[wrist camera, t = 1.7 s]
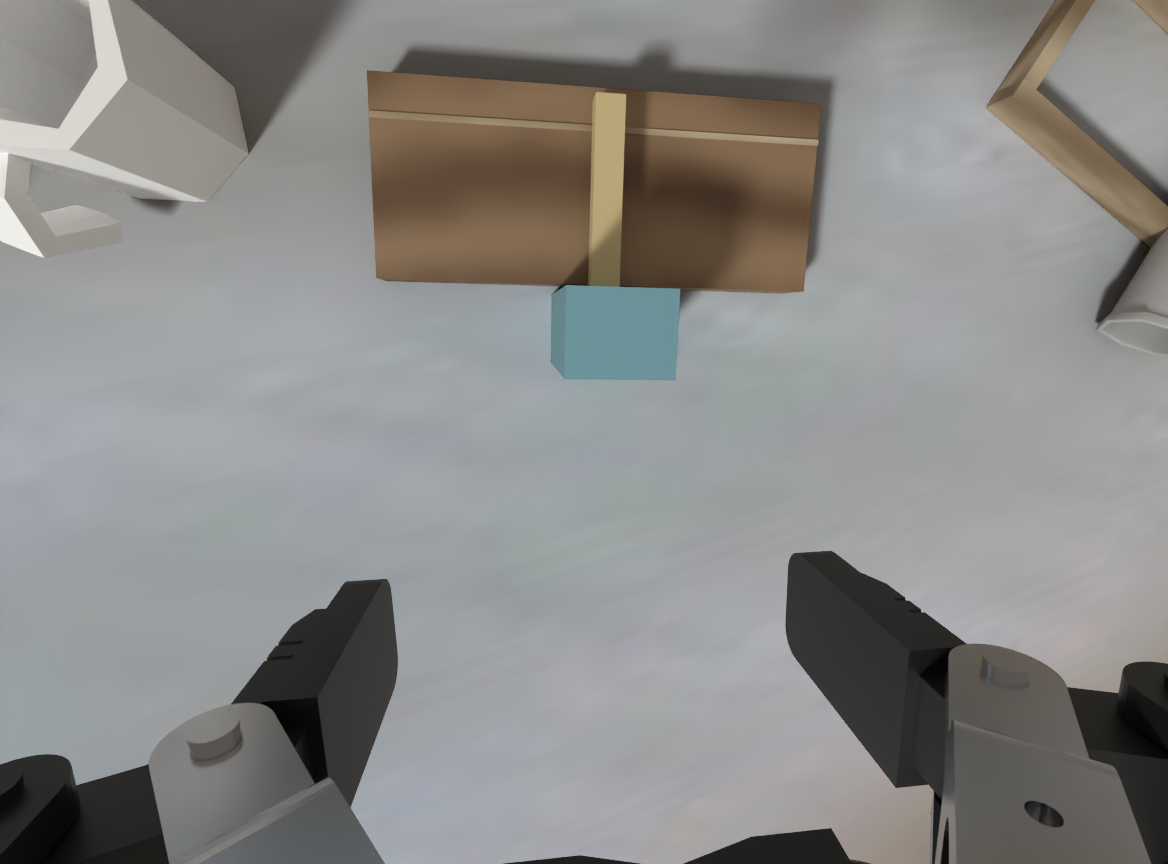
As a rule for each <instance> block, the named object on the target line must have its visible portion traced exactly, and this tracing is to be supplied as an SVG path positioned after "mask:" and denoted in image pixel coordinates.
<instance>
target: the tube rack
mask: <svg viewBox="0 0 1168 864" xmlns="http://www.w3.org/2000/svg"><path fill="white" fill-rule="evenodd" d="M1094 1H1095V0H1056V1H1055V2H1054V4H1053V5H1052V7H1051V8H1050V10H1049V11H1048V13H1047V14H1046V16H1045V17H1044V19H1043V20H1042V22H1041V24H1040V25H1039V27H1038V28H1037V30H1036V31H1035V33H1034V34H1033V36H1032V37H1031V39H1030V40H1029V42H1028V44H1027V45H1026V47H1025V48H1024V50H1023V51H1022V53H1021V54H1020V56H1019V57H1018V59H1017V60H1016V62H1015V63H1014V65H1013V67H1012V68H1011V70H1010V71H1009V73H1008V74H1007V76H1006V77H1005V79H1004V80H1003V82H1002V83H1001V85H1000V86H999V88H998V90H997V91H996V93H995V94H994V96H993V97H992V99H991V100H990V102H989V103H988V105H987V106H986V108H987V109H989V110H990V111H991V112H992V113H993V114H994V115H996V116H997V117H998V118H999V119H1000V120H1001V121H1003V122H1004V123H1005V124H1006V125H1007V126H1008V127H1010V128H1011V129H1012V130H1013V131H1014V132H1015V133H1017V134H1018V135H1019V136H1020V137H1021V138H1022V139H1024V140H1025V141H1026V142H1027V143H1028V144H1029V145H1031V146H1032V147H1033V148H1034V149H1035V150H1036V151H1038V152H1039V153H1040V154H1041V155H1042V156H1043V157H1045V158H1046V159H1047V160H1048V161H1049V162H1050V163H1052V164H1053V165H1054V166H1055V167H1056V168H1057V169H1059V170H1060V171H1061V172H1062V173H1063V174H1064V175H1066V176H1067V177H1068V178H1069V179H1070V180H1071V181H1073V182H1074V183H1075V184H1076V185H1077V186H1078V187H1080V188H1081V189H1082V190H1083V191H1084V192H1085V193H1087V194H1088V195H1089V196H1090V197H1091V198H1092V199H1094V200H1095V201H1096V202H1097V203H1098V204H1099V205H1101V206H1102V207H1103V208H1104V209H1105V210H1106V211H1108V212H1109V213H1110V214H1111V215H1112V216H1113V217H1115V218H1116V219H1117V220H1118V221H1119V222H1121V223H1122V224H1123V225H1124V226H1125V227H1126V228H1128V229H1129V230H1130V231H1131V232H1132V233H1133V234H1135V235H1136V236H1137V237H1138V238H1139V239H1140V240H1142V241H1143V242H1144V243H1145V244H1146V245H1147V246H1149V247H1150V248H1151V247H1152V246H1153V244H1154V243H1155V241H1156V240H1157V239H1158V238H1159V237H1160V236H1161V235H1162V234H1163V233H1164V232H1165V231H1166V230H1167V229H1168V206H1167V205H1166V204H1165V203H1164V202H1162V201H1161V200H1160V199H1159V198H1158V197H1157V196H1156V195H1155V194H1153V193H1152V192H1151V191H1150V190H1149V189H1148V188H1147V187H1146V186H1144V185H1143V184H1142V183H1141V182H1140V181H1139V180H1138V179H1137V178H1135V177H1134V176H1133V175H1132V174H1131V173H1130V172H1129V171H1128V170H1126V169H1125V168H1124V167H1123V166H1122V165H1121V164H1120V163H1118V162H1117V161H1116V160H1115V159H1114V158H1113V157H1112V156H1111V155H1109V154H1108V153H1107V152H1106V151H1105V150H1104V149H1103V148H1102V147H1100V146H1099V145H1098V144H1097V143H1096V142H1095V141H1094V140H1093V139H1091V138H1090V137H1089V136H1088V135H1087V134H1086V133H1085V132H1084V131H1082V130H1081V129H1080V128H1079V127H1078V126H1077V125H1076V124H1075V123H1073V122H1072V121H1071V120H1070V119H1069V118H1068V117H1067V116H1066V115H1064V114H1063V113H1062V112H1061V111H1060V110H1059V109H1058V108H1057V107H1055V106H1054V105H1053V104H1052V103H1051V102H1050V101H1049V100H1048V99H1046V98H1045V97H1044V96H1043V95H1042V94H1041V93H1040V92H1038V91H1037V90H1036V89H1037V88H1038V86H1039V85H1040V83H1041V82H1042V80H1043V79H1044V77H1045V75H1046V74H1047V72H1048V71H1049V69H1050V68H1051V66H1052V65H1053V63H1054V62H1055V60H1056V59H1057V57H1058V56H1059V54H1060V53H1061V51H1062V50H1063V48H1064V47H1065V45H1066V44H1067V42H1068V41H1069V39H1070V38H1071V36H1072V35H1073V33H1074V31H1075V30H1076V28H1077V27H1078V25H1079V24H1080V22H1081V21H1082V19H1083V18H1084V16H1085V15H1086V13H1087V12H1088V10H1089V9H1090V7H1091V6H1092V4H1093V3H1094ZM1134 1H1135V2H1136V3H1137V4H1138V5H1139V6H1140V7H1141V8H1142V9H1143V10H1144V11H1145V12H1146V13H1147V14H1148V15H1149V16H1150V17H1151V18H1152V19H1153V20H1154V21H1155V22H1156V23H1157V24H1158V25H1159V26H1160V27H1161V28H1162V29H1163V30H1164V31H1165V32H1166V33H1168V0H1134Z"/></svg>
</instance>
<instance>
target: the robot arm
mask: <svg viewBox="0 0 1168 864" xmlns="http://www.w3.org/2000/svg"><path fill="white" fill-rule="evenodd" d="M786 635H787V640H788V643H789V646H790V649H791V651H792V653H793V655H794V657H795V658H796V660H797V661H798V662H799V663H800V665H801V666H802V667H803V669H804V670H805V671H806V672H807V674H808V675H809V676H810V678H811V679H812V680H813V681H814V683H815V684H816V685H817V687H818V688H819V689H820V691H821V692H822V693H823V694H824V696H825V697H826V698H827V700H828V701H829V702H830V703H831V705H832V706H833V707H834V709H835V710H836V711H837V712H838V714H839V715H840V716H841V718H842V719H843V720H844V721H845V723H846V724H847V725H848V727H849V728H850V729H851V730H852V732H853V733H854V734H855V736H856V737H857V738H858V739H859V741H860V742H861V743H862V745H863V746H864V747H865V749H866V750H867V751H868V752H869V754H870V755H871V756H872V758H873V759H874V760H875V761H876V763H877V764H878V765H879V767H880V768H881V769H882V770H883V772H884V773H885V774H886V776H887V777H888V778H889V779H890V781H891V782H892V783H893V785H894V786H895V787H896V788H899V787H909V786H919V785H928V784H929V785H930V787H931V788H932V789H933V798H932V807H931V828H930V859H929V864H1168V664H1165V663H1158V662H1135V663H1131V664H1128V665H1127V666H1125V667H1124V669H1123V672H1122V678H1121V683H1120V689H1119V693H1111V692H1103V691H1094V690H1086V689H1077V688H1069V687H1067V686H1066V684H1065V682H1064V680H1063V679H1062V678H1061V676H1060V675H1059V674H1057V673H1056V672H1055V671H1054V670H1053V669H1051V668H1050V667H1048V666H1047V665H1045V664H1044V663H1042V662H1040V661H1038V660H1036V659H1034V658H1032V657H1030V656H1028V655H1025V654H1023V653H1020V652H1017V651H1014V650H1011V649H1007V648H1003V647H999V646H994V645H987V644H966V643H965V642H963V641H962V640H961V639H959V638H958V637H957V636H955V635H954V634H953V633H951V632H950V631H949V630H947V629H946V628H945V627H943V626H942V625H941V624H939V623H938V622H937V621H935V620H934V619H933V618H931V617H930V616H929V615H927V614H926V613H925V612H924V613H921V609H919V608H918V607H917V606H915V605H914V604H913V603H911V602H910V601H906V600H905V597H903V596H902V595H901V594H899V593H898V592H897V591H895V590H894V589H893V588H891V587H890V586H889V585H887V584H886V583H883V582H881V581H879V580H876V579H874V578H872V577H870V576H867V575H865V574H863V573H860V572H859V571H857V570H856V569H855V568H854V567H852V566H851V565H850V564H848V563H847V562H846V561H845V560H843V559H842V558H841V557H839V556H838V555H837V554H836V553H834V552H832V551H821V552H805V553H794V554H793V555H792V556H791V558H790V560H789V566H788V584H787V604H786ZM397 667H398V654H397V643H396V634H395V624H394V614H393V605H392V595H391V588H390V584H389V582H388V580H387V579H378V580H363V581H347V582H345V583H344V584H343V586H342V587H341V588H340V590H339V591H338V593H337V594H336V596H335V597H334V598H333V600H332V601H331V603H330V604H329V606H328V607H327V608H326V609H315V610H314V611H312V612H311V613H309V614H308V615H306V616H305V617H303V618H302V619H300V620H299V621H298V622H296V623H295V624H293V625H292V626H291V627H290V629H289V630H288V631H287V633H286V634H285V635H284V636H283V638H282V639H281V640H280V642H279V645H278V646H276V647H275V648H274V649H273V651H272V652H271V653H270V654H269V656H268V657H267V661H264V662H263V664H262V665H261V666H260V667H259V669H258V670H257V671H256V673H255V674H254V675H253V676H252V678H251V679H250V680H249V682H248V683H247V684H246V685H245V687H244V688H243V689H242V691H241V692H240V693H239V695H238V696H237V697H236V698H235V700H234V701H233V702H232V704H231V705H227V706H223V707H220V708H216V709H213V710H210V711H208V712H205V713H203V714H201V715H198V716H196V717H194V718H192V719H190V720H189V721H187V722H185V723H183V724H182V725H180V726H179V727H177V728H176V729H174V730H173V731H172V732H171V733H169V734H168V735H167V736H166V737H165V738H164V739H163V740H162V741H161V742H160V743H159V744H158V745H157V746H156V748H155V749H154V751H153V752H152V754H151V756H150V760H149V764H148V765H145V766H142V767H139V768H135V769H132V770H128V771H125V772H121V773H118V774H115V775H111V776H108V777H104V778H101V779H97V780H94V781H90V782H87V783H83V784H80V785H76V783H75V779H74V775H73V771H72V766H71V763H70V762H69V760H68V759H66V758H64V757H62V756H59V755H49V754H47V755H36V756H30V757H25V758H21V759H17V760H13V761H10V762H7V763H4V764H1V765H0V864H385V863H384V861H383V860H382V858H381V857H380V855H379V853H378V852H377V850H376V849H375V847H374V845H373V844H372V842H371V840H370V839H369V837H368V836H367V834H366V832H365V831H364V829H363V827H362V826H361V824H360V823H359V821H358V819H357V818H356V816H355V815H354V813H353V811H352V810H351V808H350V807H351V804H352V802H353V799H354V796H355V794H356V791H357V788H358V785H359V783H360V780H361V777H362V774H363V772H364V769H365V766H366V764H367V761H368V758H369V755H370V753H371V750H372V747H373V745H374V742H375V739H376V736H377V734H378V731H379V728H380V726H381V723H382V720H383V717H384V715H385V712H386V709H387V706H388V704H389V701H390V698H391V696H392V693H393V690H394V687H395V683H396V677H397ZM506 864H638V863H631V862H624V861H616V860H609V859H602V858H595V857H587V856H570V857H561V858H552V859H543V860H533V861H524V862H515V863H506ZM684 864H870V863H866V862H862V861H856V860H850V859H849V858H848V856H847V855H846V853H845V851H844V849H843V848H842V846H841V844H840V843H839V841H838V839H837V838H836V836H835V834H834V832H833V831H832V829H831V828H829V829H820V830H811V831H802V832H792V833H783V834H774V835H765V836H755V837H750V838H747V839H745V840H742V841H740V842H737V843H735V844H732V845H730V846H727V847H725V848H722V849H720V850H717V851H715V852H712V853H710V854H707V855H705V856H702V857H699V858H697V859H694V860H692V861H689V862H687V863H684Z"/></svg>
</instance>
